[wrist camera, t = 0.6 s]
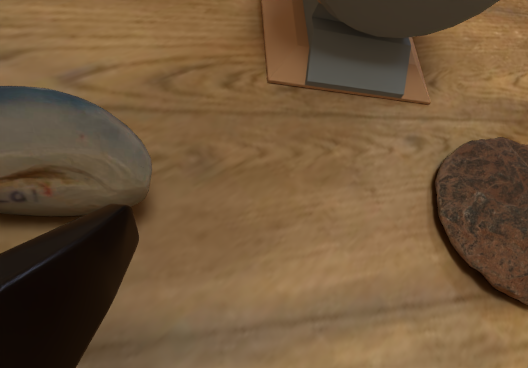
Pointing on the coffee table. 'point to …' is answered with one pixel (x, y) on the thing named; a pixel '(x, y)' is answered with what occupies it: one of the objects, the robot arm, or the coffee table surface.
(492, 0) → the alarm clock
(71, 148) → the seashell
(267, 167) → the coffee table surface
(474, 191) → the rock
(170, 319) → the coffee table surface
